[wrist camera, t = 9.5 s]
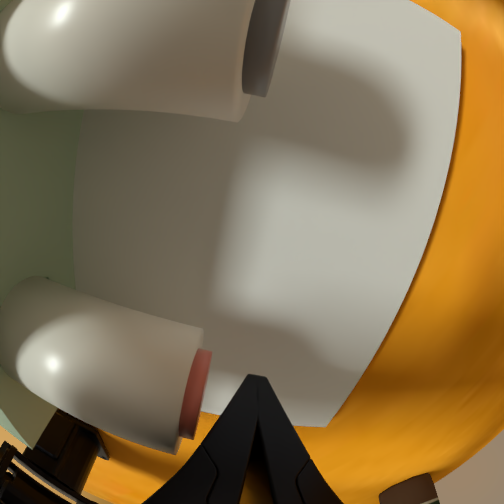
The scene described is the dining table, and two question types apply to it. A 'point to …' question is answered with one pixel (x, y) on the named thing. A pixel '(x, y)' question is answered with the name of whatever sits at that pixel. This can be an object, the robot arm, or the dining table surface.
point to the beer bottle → (411, 492)
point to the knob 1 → (139, 55)
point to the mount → (250, 206)
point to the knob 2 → (105, 362)
